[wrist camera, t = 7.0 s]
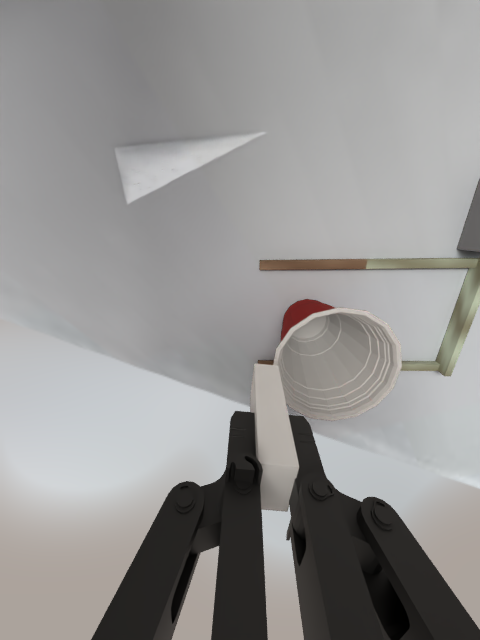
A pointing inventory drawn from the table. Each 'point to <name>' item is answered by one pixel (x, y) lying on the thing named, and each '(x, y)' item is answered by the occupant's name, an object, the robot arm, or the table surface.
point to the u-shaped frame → (475, 286)
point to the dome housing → (472, 226)
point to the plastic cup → (335, 360)
